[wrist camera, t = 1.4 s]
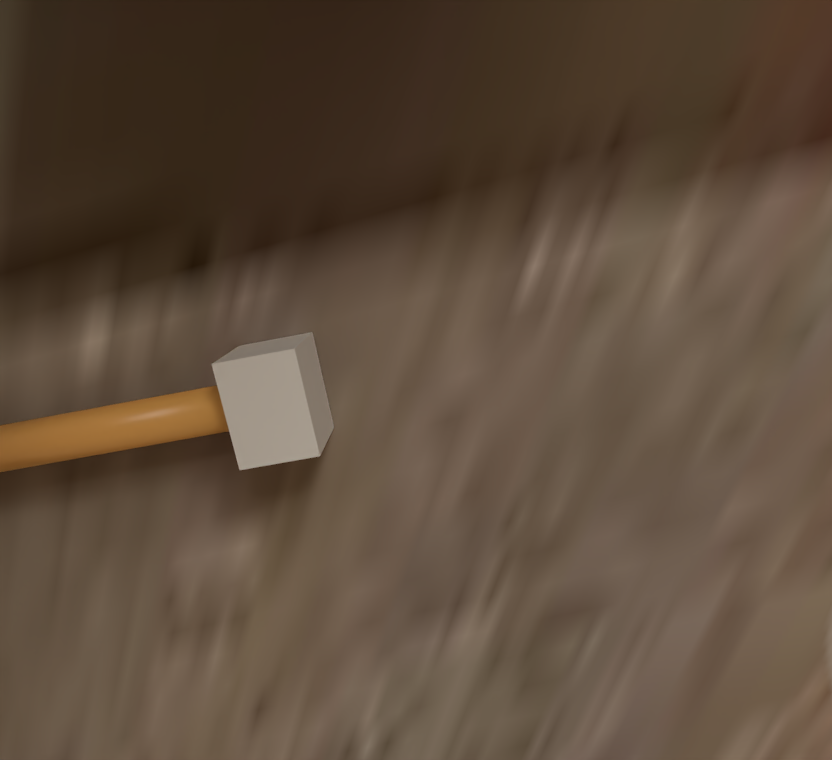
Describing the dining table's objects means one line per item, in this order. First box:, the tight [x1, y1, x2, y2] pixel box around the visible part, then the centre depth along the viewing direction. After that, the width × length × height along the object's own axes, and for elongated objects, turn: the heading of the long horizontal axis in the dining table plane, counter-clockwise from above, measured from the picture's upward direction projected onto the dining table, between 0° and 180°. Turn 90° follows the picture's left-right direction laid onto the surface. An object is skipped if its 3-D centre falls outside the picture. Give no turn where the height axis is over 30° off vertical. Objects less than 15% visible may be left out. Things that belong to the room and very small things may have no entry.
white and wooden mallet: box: [0, 332, 334, 472], centre depth 25 cm, size 21×4×9 cm, turn 101°
